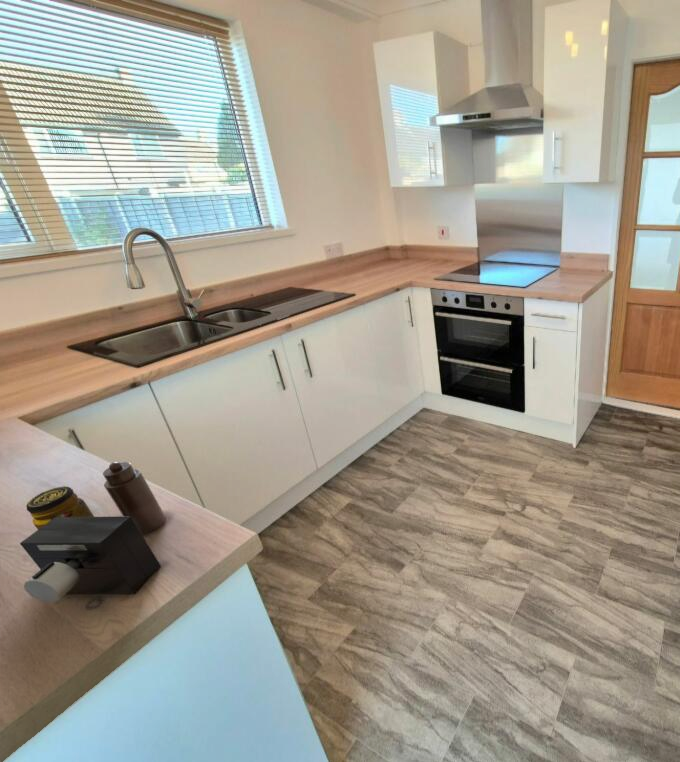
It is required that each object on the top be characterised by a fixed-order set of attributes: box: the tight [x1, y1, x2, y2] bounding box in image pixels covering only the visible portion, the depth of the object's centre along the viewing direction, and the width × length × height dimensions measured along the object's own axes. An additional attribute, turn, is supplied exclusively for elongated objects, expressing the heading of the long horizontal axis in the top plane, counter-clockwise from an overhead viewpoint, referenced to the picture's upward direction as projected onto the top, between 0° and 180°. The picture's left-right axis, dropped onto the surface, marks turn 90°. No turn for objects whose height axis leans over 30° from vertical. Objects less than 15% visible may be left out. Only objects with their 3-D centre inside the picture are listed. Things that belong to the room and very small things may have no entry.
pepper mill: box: [102, 461, 167, 536], centre depth 73 cm, size 5×5×14 cm
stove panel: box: [19, 515, 162, 595], centre depth 63 cm, size 5×12×11 cm, turn 87°
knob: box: [23, 558, 81, 603], centre depth 59 cm, size 5×4×5 cm
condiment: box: [26, 485, 95, 530], centre depth 70 cm, size 7×8×12 cm
